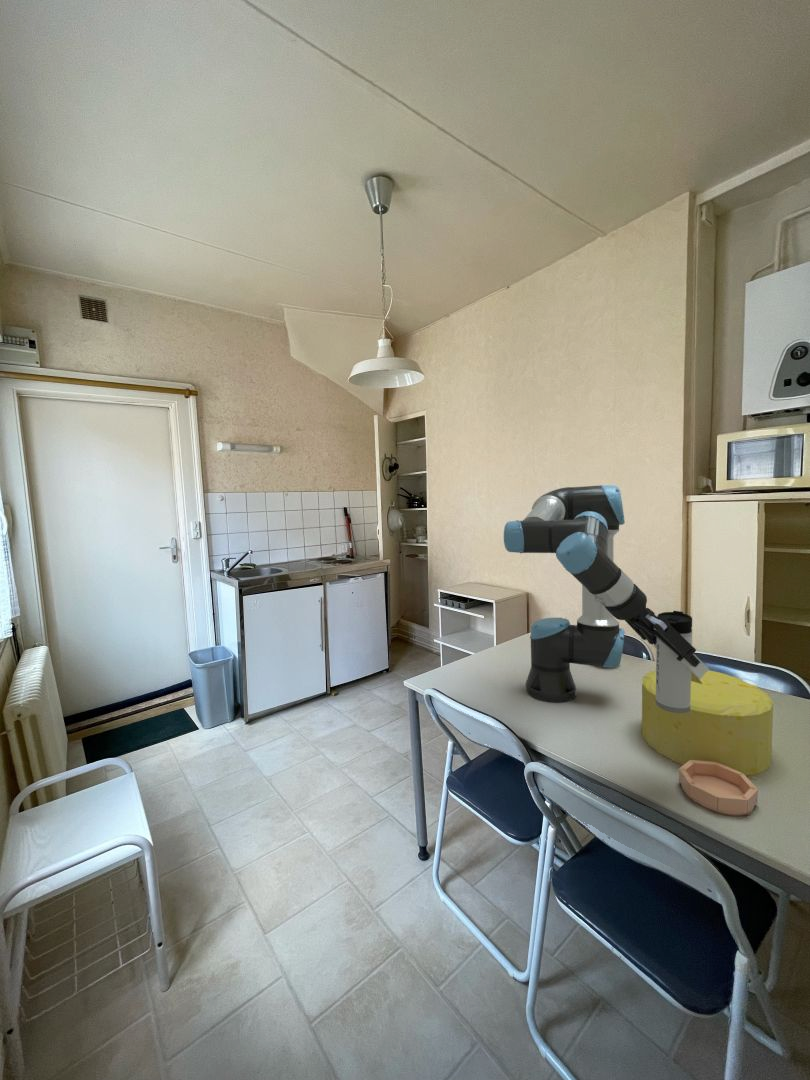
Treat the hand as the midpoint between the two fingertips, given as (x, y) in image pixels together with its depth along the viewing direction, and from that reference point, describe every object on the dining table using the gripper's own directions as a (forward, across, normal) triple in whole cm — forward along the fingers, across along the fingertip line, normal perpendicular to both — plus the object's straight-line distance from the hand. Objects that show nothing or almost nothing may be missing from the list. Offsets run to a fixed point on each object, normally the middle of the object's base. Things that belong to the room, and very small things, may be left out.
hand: (689, 666), depth 90 cm
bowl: (+19, +5, -16) cm, 26 cm away
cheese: (+27, -12, -8) cm, 31 cm away
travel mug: (+4, 0, -9) cm, 9 cm away
